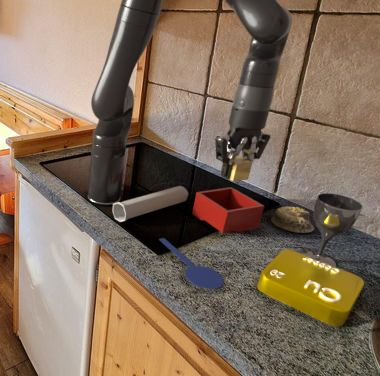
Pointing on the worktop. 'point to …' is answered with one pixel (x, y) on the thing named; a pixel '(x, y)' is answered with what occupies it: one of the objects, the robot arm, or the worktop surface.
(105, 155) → the robot arm
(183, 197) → the tube
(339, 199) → the wine glass
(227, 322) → the worktop surface
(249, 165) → the block
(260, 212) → the red open tray
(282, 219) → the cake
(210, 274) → the spoon
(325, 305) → the element tile
